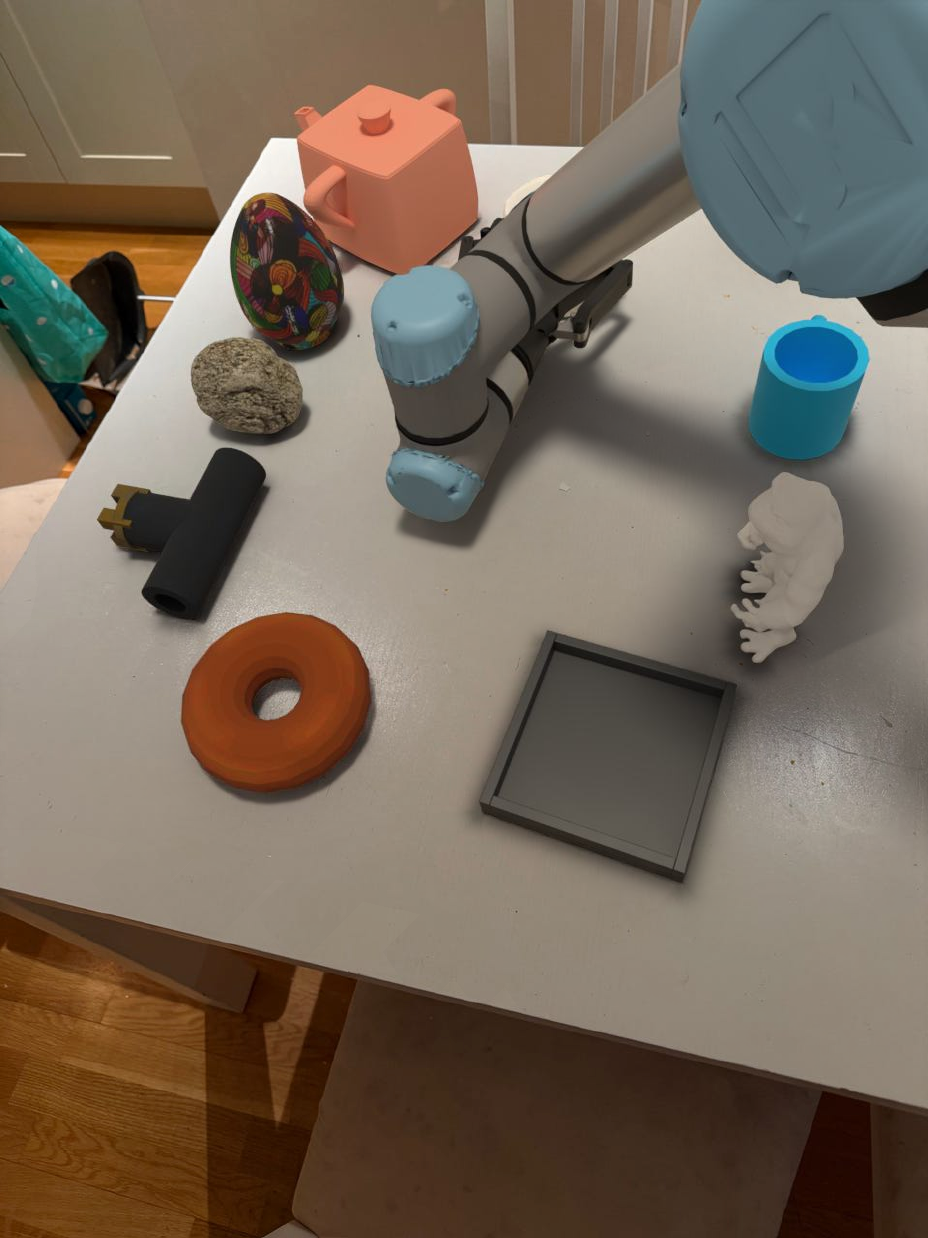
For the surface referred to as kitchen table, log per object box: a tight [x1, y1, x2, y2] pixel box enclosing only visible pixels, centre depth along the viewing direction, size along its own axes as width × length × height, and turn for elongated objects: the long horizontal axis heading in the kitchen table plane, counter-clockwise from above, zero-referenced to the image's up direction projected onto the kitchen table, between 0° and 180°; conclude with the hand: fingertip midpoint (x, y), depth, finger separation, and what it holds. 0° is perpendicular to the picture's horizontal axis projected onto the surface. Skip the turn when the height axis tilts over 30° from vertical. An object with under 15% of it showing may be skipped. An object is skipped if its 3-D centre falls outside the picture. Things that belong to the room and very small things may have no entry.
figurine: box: [730, 471, 845, 664], centre depth 63 cm, size 11×7×15 cm, turn 170°
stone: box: [190, 336, 304, 435], centre depth 83 cm, size 6×10×10 cm, turn 75°
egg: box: [229, 192, 345, 351], centre depth 87 cm, size 11×11×15 cm
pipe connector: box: [96, 446, 267, 620], centre depth 78 cm, size 12×5×15 cm
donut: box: [180, 611, 372, 794], centre depth 68 cm, size 15×15×5 cm
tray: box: [478, 629, 738, 883], centre depth 64 cm, size 15×15×2 cm
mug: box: [748, 314, 870, 461], centre depth 76 cm, size 12×8×8 cm
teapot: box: [293, 84, 479, 275], centre depth 95 cm, size 20×22×14 cm
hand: (571, 210), depth 88 cm, fingers closed on cup, 10 cm apart
